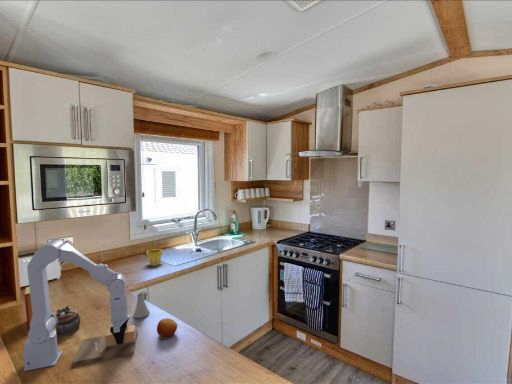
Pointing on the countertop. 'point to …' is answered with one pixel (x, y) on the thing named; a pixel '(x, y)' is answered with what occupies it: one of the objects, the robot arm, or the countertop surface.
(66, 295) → the countertop surface
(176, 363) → the countertop surface
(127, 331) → the block
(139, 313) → the flask
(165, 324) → the fruit
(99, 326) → the countertop surface
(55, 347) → the robot arm
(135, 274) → the countertop surface
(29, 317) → the baking soda box
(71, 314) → the cupcake
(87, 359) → the board
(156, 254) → the plant pot
